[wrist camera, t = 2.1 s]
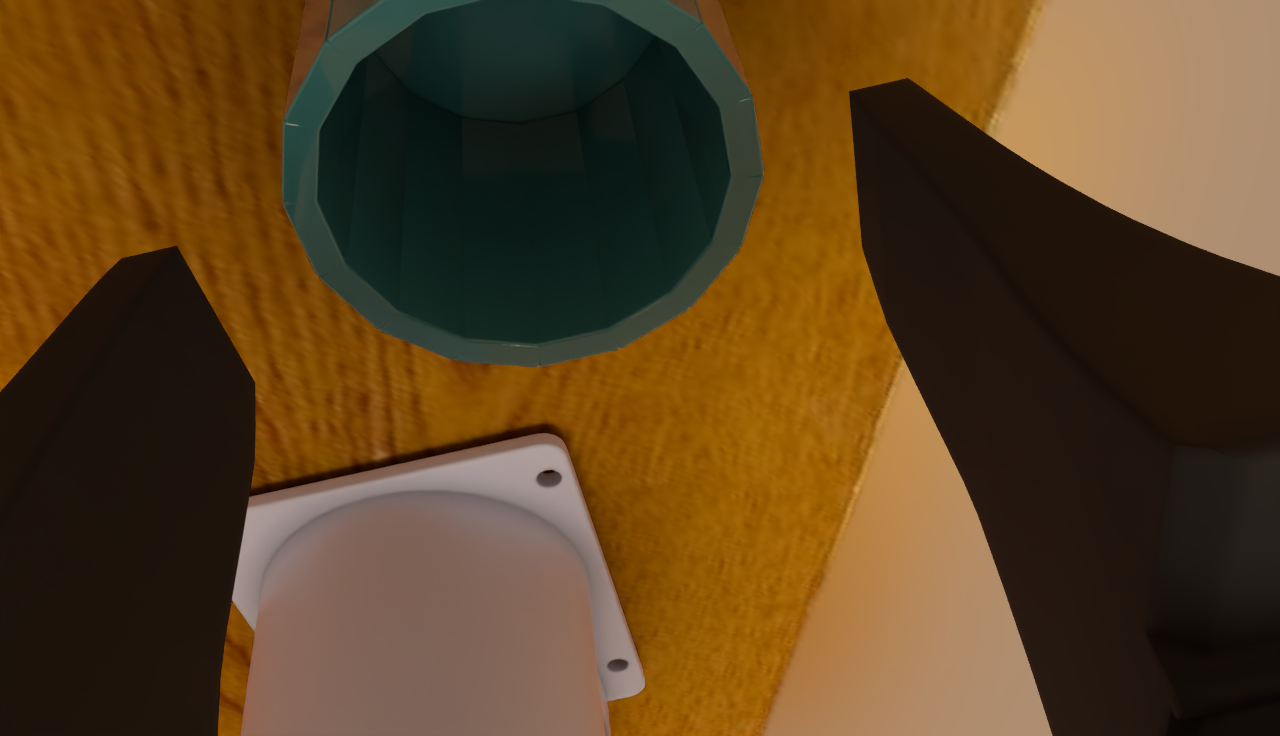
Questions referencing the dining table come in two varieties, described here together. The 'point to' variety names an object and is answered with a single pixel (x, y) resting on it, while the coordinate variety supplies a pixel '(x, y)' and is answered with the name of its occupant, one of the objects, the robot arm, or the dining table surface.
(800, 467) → the dining table surface
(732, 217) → the cup
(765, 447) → the dining table surface
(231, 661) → the dining table surface
